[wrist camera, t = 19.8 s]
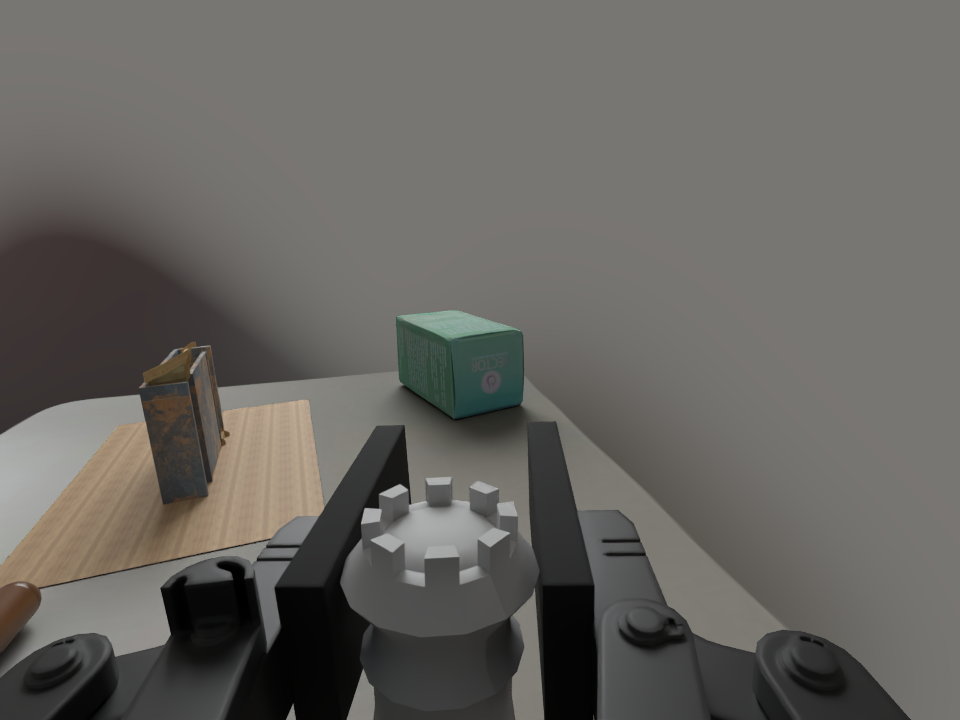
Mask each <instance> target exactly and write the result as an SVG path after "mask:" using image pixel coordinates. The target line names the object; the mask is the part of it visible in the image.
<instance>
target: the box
mask: <svg viewBox="0 0 960 720" xmlns="http://www.w3.org/2000/svg"><path fill="white" fill-rule="evenodd" d="M396 326H397V344H398V364H399V380H400V382H401V383H403V384H404V385H405V386H407V387H408V388H409V389H411V390H412V391H414V392H415V393H416V394H418V395H419V396H421V397H423V398H424V399H425V400H427V401H428V402H430V403H431V404H433V405H434V406H436V407H437V408H439V409H440V410H442V411H443V412H445V413H446V414H447V415H449V416H450V417H452V418H453V419H459V418H463V417H468V416H472V415H476V414H481V413H485V412H489V411H494V410H498V409H503V408H507V407H512V406H516V405H519V404H521V402H522V400H523V384H524V352H523V334H522V332H521V330H520V329H516V328H513V327H510V326H506V325H503V324H499V323H496V322H493V321H490V320H487V319H483V318H480V317H476V316H473V315H470V314H466V313H463V312H461V311H457V310H453V311H443V312H432V313H422V314H412V315H403V316H397V317H396Z"/></svg>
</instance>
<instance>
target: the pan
mask: <svg viewBox="0 0 960 720" xmlns="http://www.w3.org/2000/svg"><path fill="white" fill-rule="evenodd" d="M40 603H41V592H40V590H39V589H38V587H37V586H35V585H34V584H32V583H30V582H26V581H17V582H12V583H9V584H7V585H5V586H3V587H1V588H0V654H1V653H2V652H3V650H4V649H5V648H6V647H7V646H8V644H9V643H10V642H11V641H12V640H13V639H14V637H15V636H16V635H17V634H18V633H19V631H20V630H21V629H22V628H23V627H24V626H25V624H26V623H27V622H28V621H29V620H30V618H31V617H32V616H33V615H34V614H35V612H36V611H37V609H38V608H39V606H40Z"/></svg>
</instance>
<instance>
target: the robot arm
mask: <svg viewBox="0 0 960 720" xmlns="http://www.w3.org/2000/svg"><path fill="white" fill-rule="evenodd" d="M527 430H528V469H529V509H530V526H531V540H532V548H533V551H534V554H535V557H536V560H537V563H538V566H539V570H540V572H539V576H538V579H537V582H536V585H535V595H536V609H537V623H538V637H539V650H540V664H541V678H542V692H543V706H544V720H593V714H594V720H911V719H910V718H909V717H908V716H907V715H906V714H905V713H904V712H903V710H902V709H901V708H900V707H899V706H898V705H897V704H896V703H895V701H894V700H893V699H892V698H891V697H890V696H889V695H888V694H887V692H886V691H885V690H884V689H883V688H882V687H881V686H880V685H879V683H878V682H877V681H876V680H875V679H874V678H873V677H872V676H871V674H869V672H868V671H867V670H866V669H865V668H864V667H863V665H861V663H859V662H858V661H857V660H856V659H855V658H853V657H852V656H851V655H850V654H849V653H848V652H847V651H846V650H844V649H842V648H840V647H839V646H837V645H835V644H833V643H831V642H830V641H828V640H826V639H824V638H821V637H818V636H815V635H812V634H808V633H805V632H801V631H789V630H781V631H776V632H772V633H768V634H766V635H765V636H764V637H763V638H762V639H760V640H759V641H758V642H757V647H756V653H753V652H748V651H744V650H740V649H736V648H732V647H728V646H723V645H720V644H717V643H714V642H711V641H708V640H706V639H704V638H702V637H700V636H698V635H696V634H694V633H692V631H691V629H690V627H689V625H688V623H687V621H686V620H685V619H684V618H683V617H682V616H681V615H680V614H679V613H677V612H676V611H675V610H674V609H672V608H670V607H668V606H667V603H666V601H665V598H664V596H663V594H662V591H661V589H660V586H659V584H658V581H657V579H656V577H655V574H654V572H653V569H652V567H651V564H650V562H649V560H648V557H647V556H646V552H645V550H644V547H643V545H642V543H641V542H640V538H639V535H638V533H637V531H636V528H635V526H634V523H632V522H631V521H630V520H629V519H628V518H627V517H626V516H624V515H623V514H622V513H621V512H620V511H619V510H587V511H577V508H576V504H575V500H574V496H573V491H572V487H571V483H570V479H569V474H568V470H567V466H566V462H565V458H564V453H563V449H562V445H561V441H560V436H559V432H558V428H557V424H556V422H527ZM399 484H401V485H402V486H403V487H405V488H406V489H408V490H409V505H411V495H410V484H409V472H408V461H407V449H406V438H405V426H404V425H393V426H376V428H375V429H374V431H373V432H372V434H371V436H370V437H369V439H368V440H367V442H366V444H365V445H364V447H363V448H362V450H361V451H360V453H359V455H358V456H357V458H356V459H355V461H354V462H353V464H352V466H351V467H350V469H349V470H348V472H347V473H346V475H345V477H344V478H343V480H342V481H341V483H340V484H339V486H338V488H337V489H336V491H335V492H334V494H333V495H332V497H331V499H330V500H329V502H328V503H327V505H326V506H325V508H324V510H323V511H322V513H321V514H320V516H297V517H295V518H294V519H293V520H291V521H290V522H288V523H287V524H285V525H284V526H283V527H281V528H280V529H278V530H277V532H276V533H275V534H274V536H273V537H272V538H271V540H270V541H269V543H268V544H267V545H266V548H264V549H263V551H262V552H261V553H260V555H259V556H258V557H257V561H256V562H254V563H253V564H251V563H250V562H249V560H246V559H243V558H240V557H232V556H222V557H217V558H212V559H207V560H204V561H201V562H199V563H196V564H194V565H191V566H189V567H186V568H185V569H183V570H182V571H180V572H178V573H177V574H175V575H174V576H172V577H171V578H170V579H169V580H168V581H167V582H166V583H165V584H164V585H163V586H162V587H161V592H162V597H163V601H164V606H165V610H166V614H167V619H168V623H169V627H170V632H171V636H170V637H169V639H168V641H167V642H166V644H165V645H162V646H159V647H155V648H151V649H147V650H142V651H138V652H134V653H130V654H125V655H121V656H117V657H115V655H114V651H113V648H112V644H111V643H110V641H109V640H108V638H107V637H106V636H103V635H99V634H96V633H89V634H78V635H74V636H71V637H67V638H63V639H60V640H57V641H55V642H52V643H51V644H49V645H47V646H45V647H43V648H41V649H39V650H37V651H35V652H33V653H32V654H31V655H29V656H28V657H26V658H25V659H23V660H22V661H20V662H19V663H18V664H16V665H15V666H14V667H13V668H11V669H10V670H9V671H8V672H7V673H5V674H4V675H3V676H2V677H1V678H0V720H286V718H287V716H288V714H289V712H290V709H291V707H292V705H293V704H294V710H295V716H296V720H346V719H347V716H348V713H349V710H350V707H351V704H352V701H353V698H354V695H355V692H356V688H357V685H358V682H359V679H360V676H361V673H362V670H363V666H362V663H361V661H360V653H361V647H362V641H363V634H364V633H365V631H366V630H367V628H368V627H369V626H370V623H369V622H368V621H367V620H365V619H364V618H363V617H362V616H360V615H359V614H358V613H357V612H355V611H354V610H353V609H352V608H351V607H350V605H349V603H348V601H347V598H346V596H345V594H344V591H343V589H342V586H341V584H340V580H341V576H342V572H343V568H344V564H345V560H346V558H347V556H348V555H349V554H350V553H351V551H352V550H353V549H354V548H355V546H356V545H357V544H358V542H359V541H360V540H361V539H362V533H361V522H362V518H363V513H364V509H365V508H371V509H379V494H380V493H382V492H385V491H387V490H389V489H391V488H393V487H395V486H397V485H399Z"/></svg>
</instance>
